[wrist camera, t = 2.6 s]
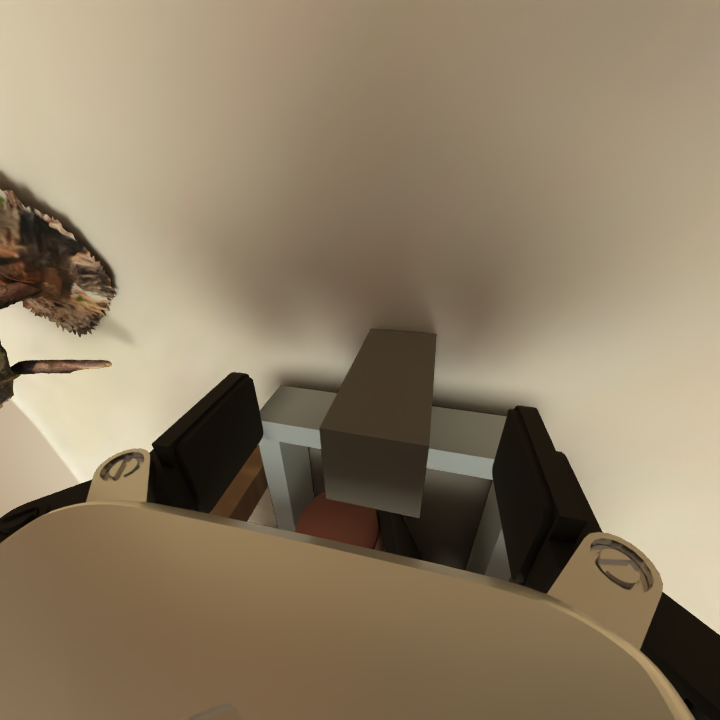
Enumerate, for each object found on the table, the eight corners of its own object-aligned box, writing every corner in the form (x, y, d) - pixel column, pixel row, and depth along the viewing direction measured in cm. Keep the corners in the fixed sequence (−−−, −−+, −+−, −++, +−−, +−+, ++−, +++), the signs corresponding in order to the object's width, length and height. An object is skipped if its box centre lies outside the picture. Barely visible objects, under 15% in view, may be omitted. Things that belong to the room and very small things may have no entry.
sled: (565, 345, 13) (668, 485, 7) (465, 624, 25) (471, 758, 20) (269, 319, 16) (162, 402, 10) (312, 582, 28) (277, 688, 22)
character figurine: (386, 582, 27) (314, 453, 21) (474, 596, 23) (418, 448, 18) (358, 712, 20) (243, 576, 14) (474, 755, 17) (386, 602, 11)
